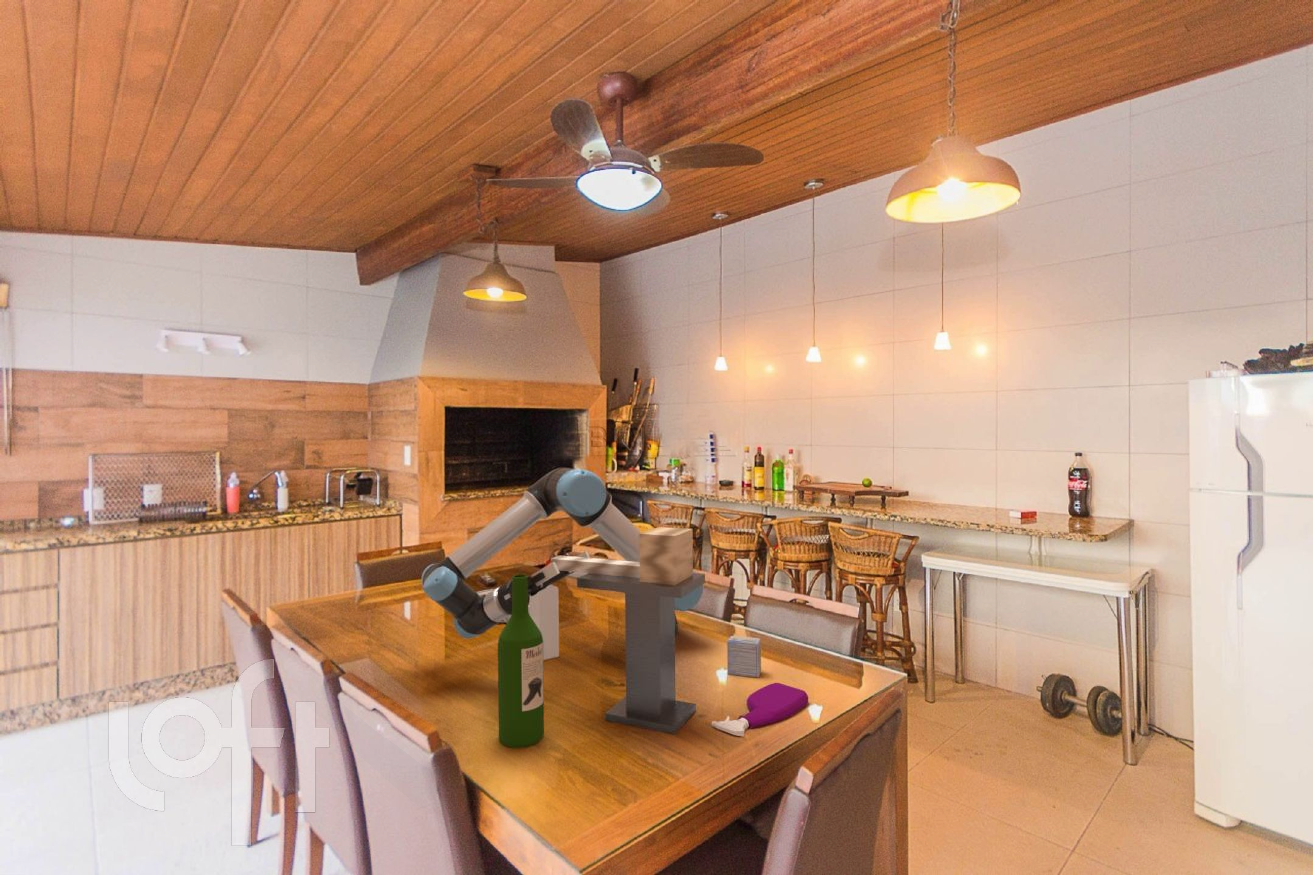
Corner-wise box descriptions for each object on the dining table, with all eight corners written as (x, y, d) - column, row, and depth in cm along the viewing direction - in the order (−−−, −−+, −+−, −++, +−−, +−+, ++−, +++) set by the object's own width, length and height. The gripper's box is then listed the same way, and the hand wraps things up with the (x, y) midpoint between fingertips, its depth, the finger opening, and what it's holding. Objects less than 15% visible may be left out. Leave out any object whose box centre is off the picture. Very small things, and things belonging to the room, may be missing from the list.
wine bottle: (522, 752, 124) (520, 583, 124) (489, 740, 129) (487, 577, 129) (553, 733, 132) (551, 574, 132) (520, 723, 137) (519, 569, 136)
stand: (578, 717, 139) (576, 577, 139) (609, 693, 152) (608, 565, 152) (682, 738, 129) (680, 588, 129) (706, 710, 142) (704, 573, 142)
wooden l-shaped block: (542, 572, 145) (542, 527, 145) (566, 563, 154) (566, 521, 154) (675, 585, 132) (674, 535, 132) (692, 574, 141) (692, 528, 141)
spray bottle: (813, 705, 145) (748, 746, 128) (771, 692, 153) (705, 729, 135) (812, 692, 145) (748, 731, 127) (771, 679, 153) (705, 715, 135)
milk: (539, 661, 173) (538, 579, 173) (529, 655, 178) (528, 575, 178) (559, 656, 177) (558, 576, 177) (549, 650, 182) (548, 572, 182)
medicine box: (761, 672, 165) (761, 638, 164) (758, 678, 160) (758, 643, 160) (730, 668, 167) (730, 635, 167) (727, 674, 163) (726, 640, 163)
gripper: (544, 601, 166) (607, 565, 158) (479, 629, 143) (548, 589, 135) (531, 575, 167) (593, 538, 159) (465, 598, 144) (533, 556, 137)
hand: (573, 561), depth 147 cm, fingers open, 13 cm apart
